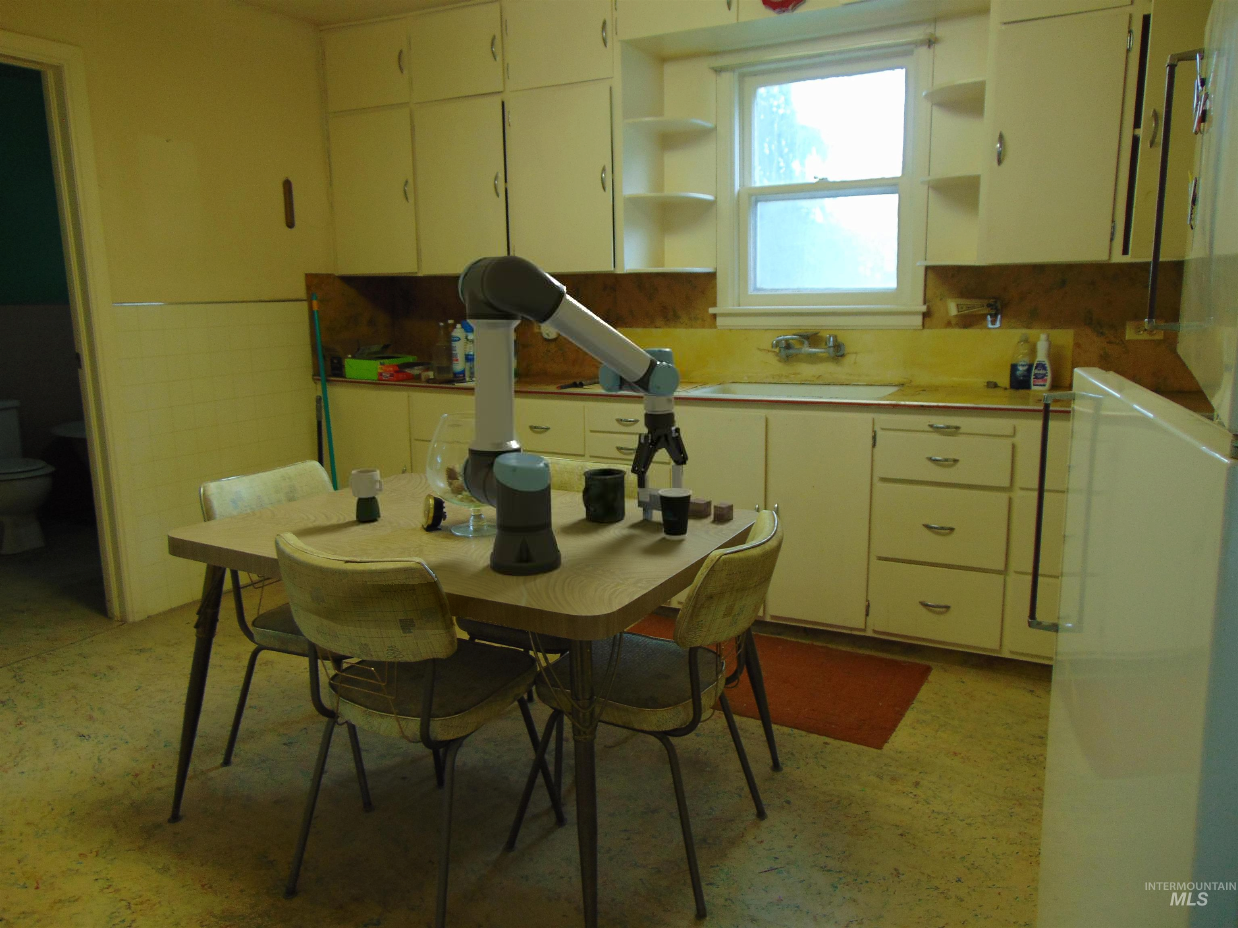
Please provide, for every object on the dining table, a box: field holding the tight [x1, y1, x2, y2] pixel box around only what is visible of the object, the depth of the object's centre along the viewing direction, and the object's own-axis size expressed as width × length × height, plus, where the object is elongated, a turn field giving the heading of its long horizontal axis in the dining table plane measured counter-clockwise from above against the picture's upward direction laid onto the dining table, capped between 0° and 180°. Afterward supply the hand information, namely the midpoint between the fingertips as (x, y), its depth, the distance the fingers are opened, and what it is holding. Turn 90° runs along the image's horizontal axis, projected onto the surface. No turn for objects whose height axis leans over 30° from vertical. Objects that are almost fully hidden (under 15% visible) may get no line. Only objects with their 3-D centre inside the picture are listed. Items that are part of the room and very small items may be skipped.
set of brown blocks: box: [689, 497, 734, 522], centre depth 231 cm, size 4×18×4 cm, turn 49°
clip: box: [637, 487, 663, 521], centre depth 225 cm, size 10×6×8 cm, turn 49°
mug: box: [581, 467, 627, 523], centre depth 227 cm, size 11×15×12 cm
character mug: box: [348, 468, 384, 522], centre depth 231 cm, size 11×7×13 cm, turn 64°
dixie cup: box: [658, 487, 693, 541], centre depth 210 cm, size 8×8×11 cm
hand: (661, 495), depth 225 cm, fingers open, 13 cm apart
